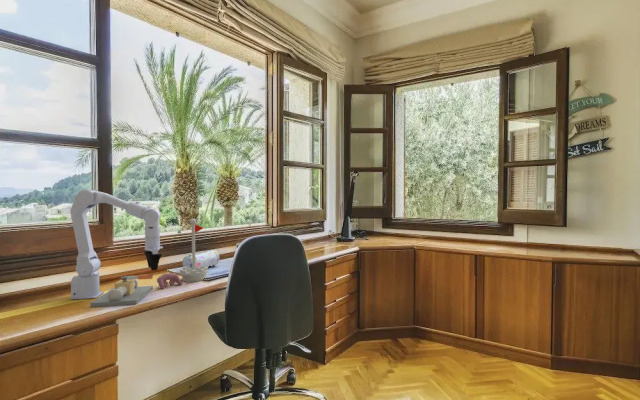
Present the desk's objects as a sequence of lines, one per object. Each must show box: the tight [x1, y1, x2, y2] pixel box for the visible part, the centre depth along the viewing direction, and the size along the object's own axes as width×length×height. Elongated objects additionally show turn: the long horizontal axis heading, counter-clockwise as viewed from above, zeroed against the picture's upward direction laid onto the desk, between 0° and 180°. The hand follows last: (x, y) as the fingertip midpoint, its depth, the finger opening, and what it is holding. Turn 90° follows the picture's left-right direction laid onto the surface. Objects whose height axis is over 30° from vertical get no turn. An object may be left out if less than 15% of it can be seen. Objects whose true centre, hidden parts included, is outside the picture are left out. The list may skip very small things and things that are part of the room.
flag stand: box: [179, 218, 209, 283], centre depth 176 cm, size 13×13×30 cm
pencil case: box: [182, 249, 220, 269], centre depth 200 cm, size 21×9×10 cm, turn 150°
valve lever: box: [120, 273, 154, 281], centre depth 147 cm, size 12×3×2 cm, turn 100°
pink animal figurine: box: [156, 272, 183, 290], centre depth 163 cm, size 10×5×7 cm, turn 141°
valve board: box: [89, 279, 154, 308], centre depth 145 cm, size 16×22×7 cm
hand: (152, 268), depth 153 cm, fingers open, 7 cm apart
